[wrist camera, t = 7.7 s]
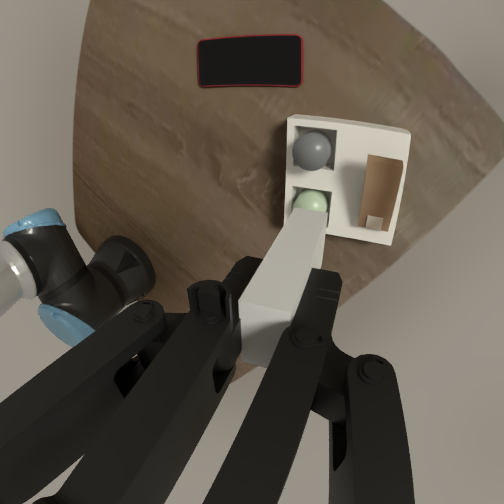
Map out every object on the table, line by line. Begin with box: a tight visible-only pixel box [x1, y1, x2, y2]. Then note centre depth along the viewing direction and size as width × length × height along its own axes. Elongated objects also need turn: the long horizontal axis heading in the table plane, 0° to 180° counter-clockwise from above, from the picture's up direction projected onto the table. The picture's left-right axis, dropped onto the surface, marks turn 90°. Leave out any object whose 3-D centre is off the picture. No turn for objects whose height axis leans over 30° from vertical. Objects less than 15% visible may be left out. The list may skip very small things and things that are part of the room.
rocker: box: [358, 154, 403, 232], centre depth 34 cm, size 4×10×2 cm, turn 1°
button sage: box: [292, 188, 329, 212], centre depth 41 cm, size 4×4×4 cm
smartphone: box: [197, 34, 303, 87], centre depth 37 cm, size 7×1×15 cm
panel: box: [284, 114, 411, 246], centre depth 39 cm, size 15×15×5 cm
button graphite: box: [292, 130, 332, 171], centre depth 36 cm, size 4×4×4 cm
